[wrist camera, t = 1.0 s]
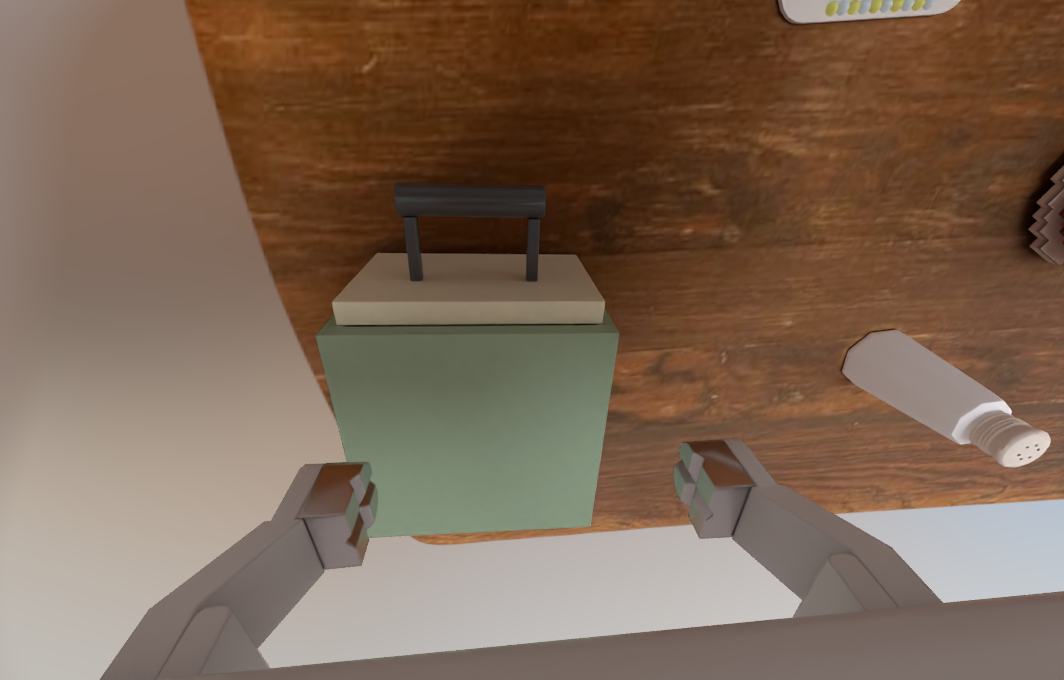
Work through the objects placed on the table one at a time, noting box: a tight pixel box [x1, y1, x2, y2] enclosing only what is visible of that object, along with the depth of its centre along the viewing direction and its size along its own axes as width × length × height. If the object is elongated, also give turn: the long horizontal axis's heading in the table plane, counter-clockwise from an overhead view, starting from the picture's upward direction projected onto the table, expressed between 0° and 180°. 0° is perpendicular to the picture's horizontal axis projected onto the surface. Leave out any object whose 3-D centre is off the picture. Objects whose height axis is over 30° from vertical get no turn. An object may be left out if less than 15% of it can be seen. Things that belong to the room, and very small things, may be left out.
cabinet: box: [316, 308, 619, 538], centre depth 26 cm, size 14×14×10 cm
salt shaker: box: [842, 329, 1051, 467], centre depth 28 cm, size 5×5×11 cm
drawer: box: [332, 182, 605, 327], centre depth 24 cm, size 17×13×8 cm
